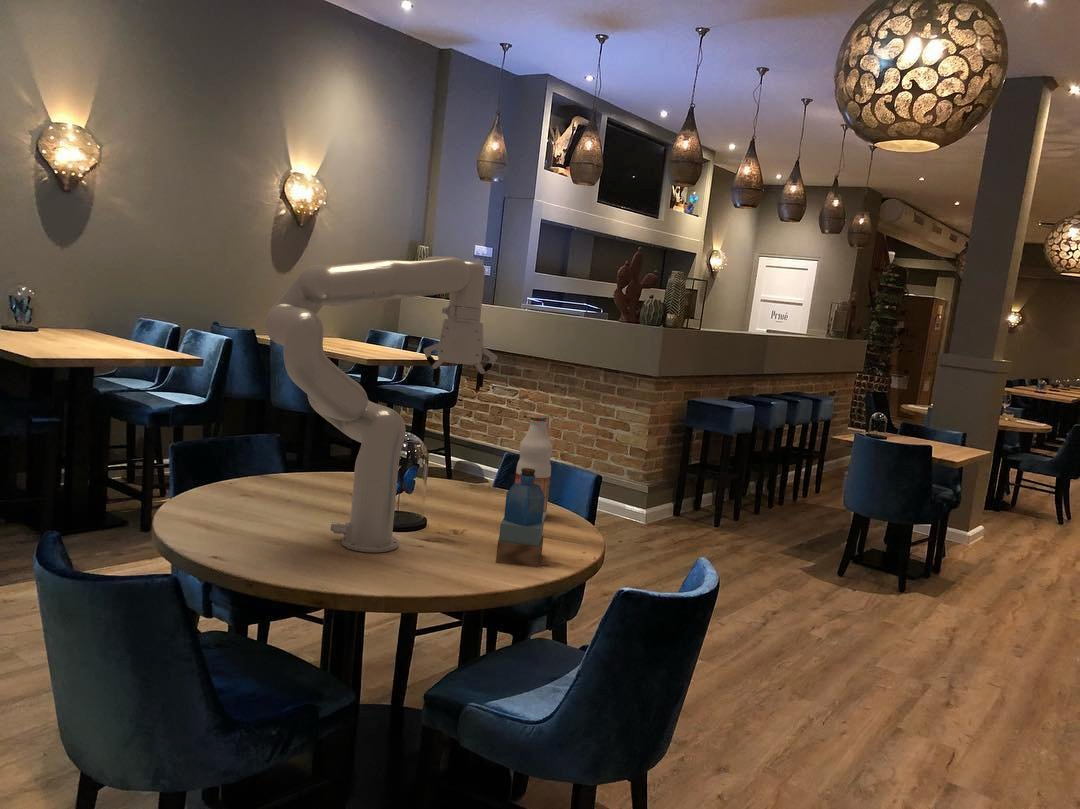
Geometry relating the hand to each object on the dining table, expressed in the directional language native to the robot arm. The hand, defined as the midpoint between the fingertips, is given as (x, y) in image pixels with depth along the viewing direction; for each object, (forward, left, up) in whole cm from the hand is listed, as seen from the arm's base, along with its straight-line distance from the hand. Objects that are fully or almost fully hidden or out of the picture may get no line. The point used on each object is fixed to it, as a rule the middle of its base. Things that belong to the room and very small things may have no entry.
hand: (457, 387), depth 200 cm
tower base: (+19, -10, -37) cm, 42 cm away
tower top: (+19, -10, -32) cm, 38 cm away
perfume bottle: (+19, -9, -28) cm, 35 cm away
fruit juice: (+20, +29, -36) cm, 51 cm away
